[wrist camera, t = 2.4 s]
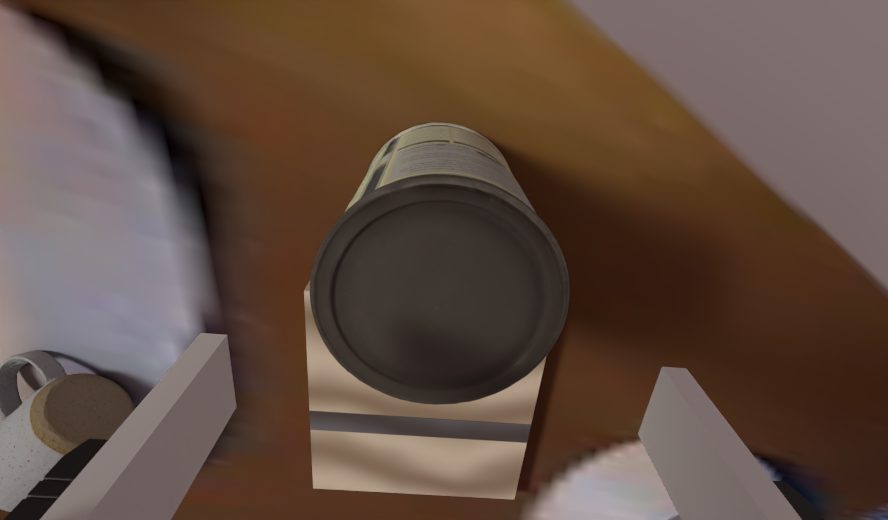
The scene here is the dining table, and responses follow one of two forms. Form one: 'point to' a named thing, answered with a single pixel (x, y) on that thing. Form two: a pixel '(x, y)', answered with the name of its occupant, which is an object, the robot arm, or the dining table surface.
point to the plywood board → (413, 434)
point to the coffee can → (439, 273)
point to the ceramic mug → (51, 420)
